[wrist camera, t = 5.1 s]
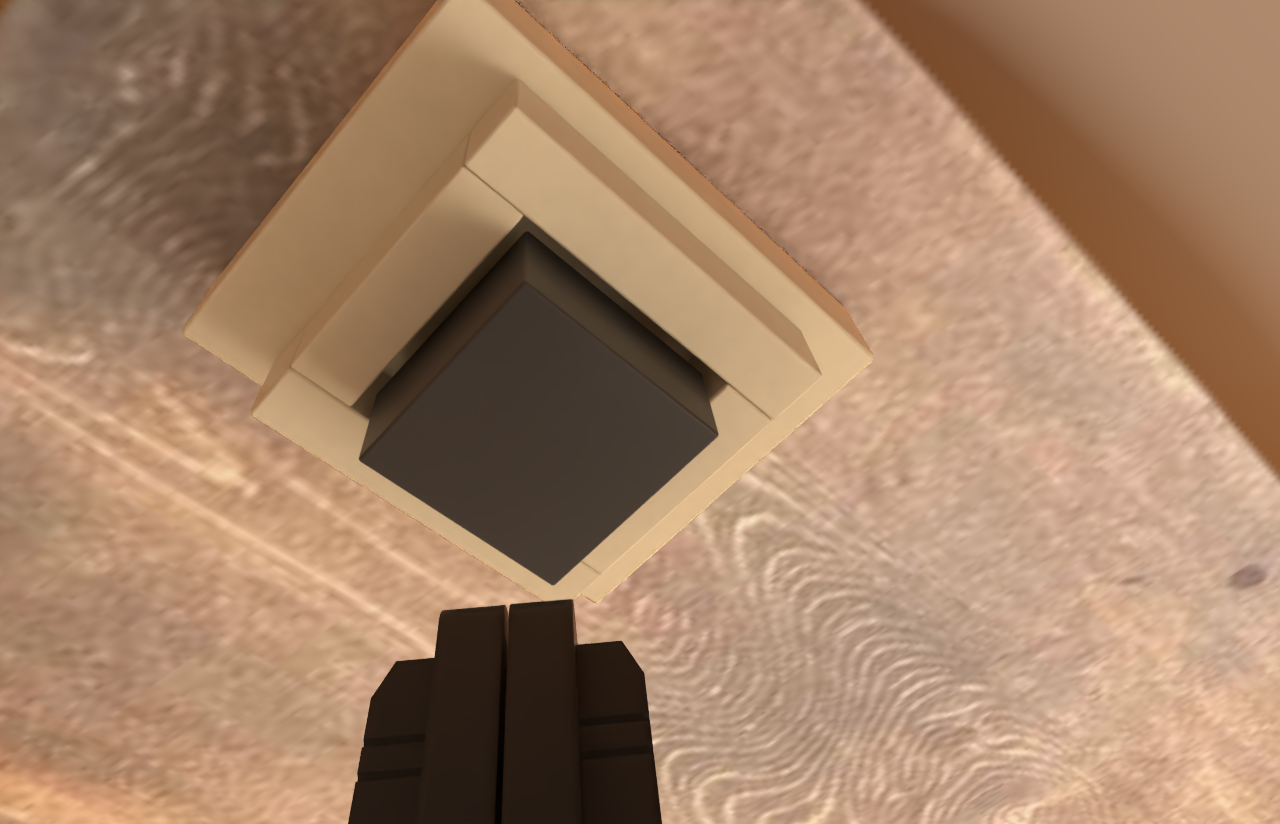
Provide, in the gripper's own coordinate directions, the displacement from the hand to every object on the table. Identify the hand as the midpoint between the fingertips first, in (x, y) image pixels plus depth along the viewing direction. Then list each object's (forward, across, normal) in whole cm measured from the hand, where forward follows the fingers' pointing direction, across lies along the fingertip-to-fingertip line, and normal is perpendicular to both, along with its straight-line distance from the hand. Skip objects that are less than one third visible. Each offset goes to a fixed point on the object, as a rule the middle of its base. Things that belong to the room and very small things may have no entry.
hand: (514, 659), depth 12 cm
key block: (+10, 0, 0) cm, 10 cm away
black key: (+7, 0, 0) cm, 7 cm away
